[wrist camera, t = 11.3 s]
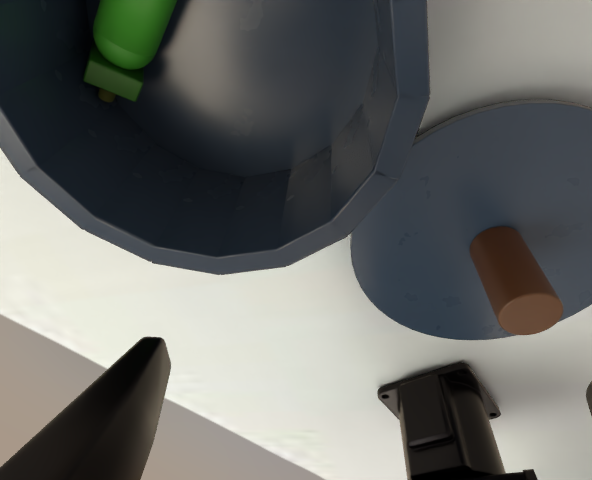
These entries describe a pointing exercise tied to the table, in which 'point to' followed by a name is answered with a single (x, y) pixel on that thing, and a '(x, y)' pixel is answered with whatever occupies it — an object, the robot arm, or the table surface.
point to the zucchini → (125, 45)
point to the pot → (219, 124)
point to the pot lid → (486, 225)
